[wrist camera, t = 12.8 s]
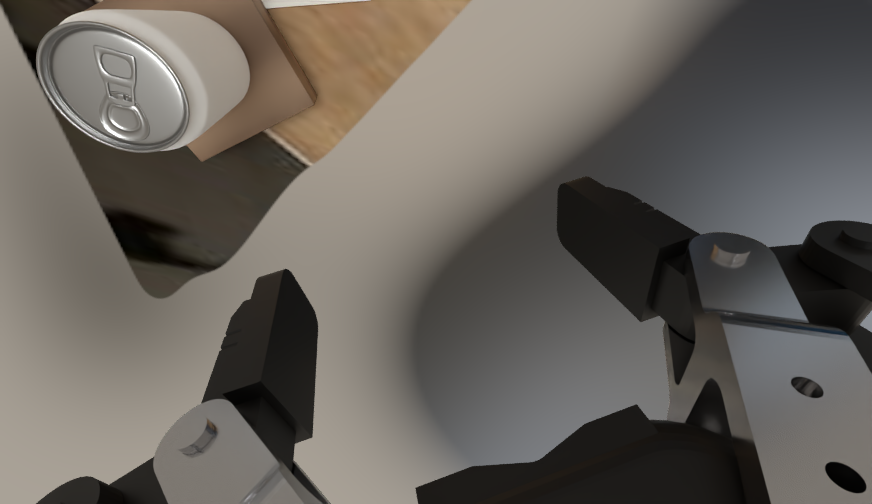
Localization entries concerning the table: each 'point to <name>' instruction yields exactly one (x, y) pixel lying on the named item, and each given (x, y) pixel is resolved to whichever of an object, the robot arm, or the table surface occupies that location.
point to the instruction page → (301, 2)
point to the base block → (268, 64)
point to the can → (142, 76)
